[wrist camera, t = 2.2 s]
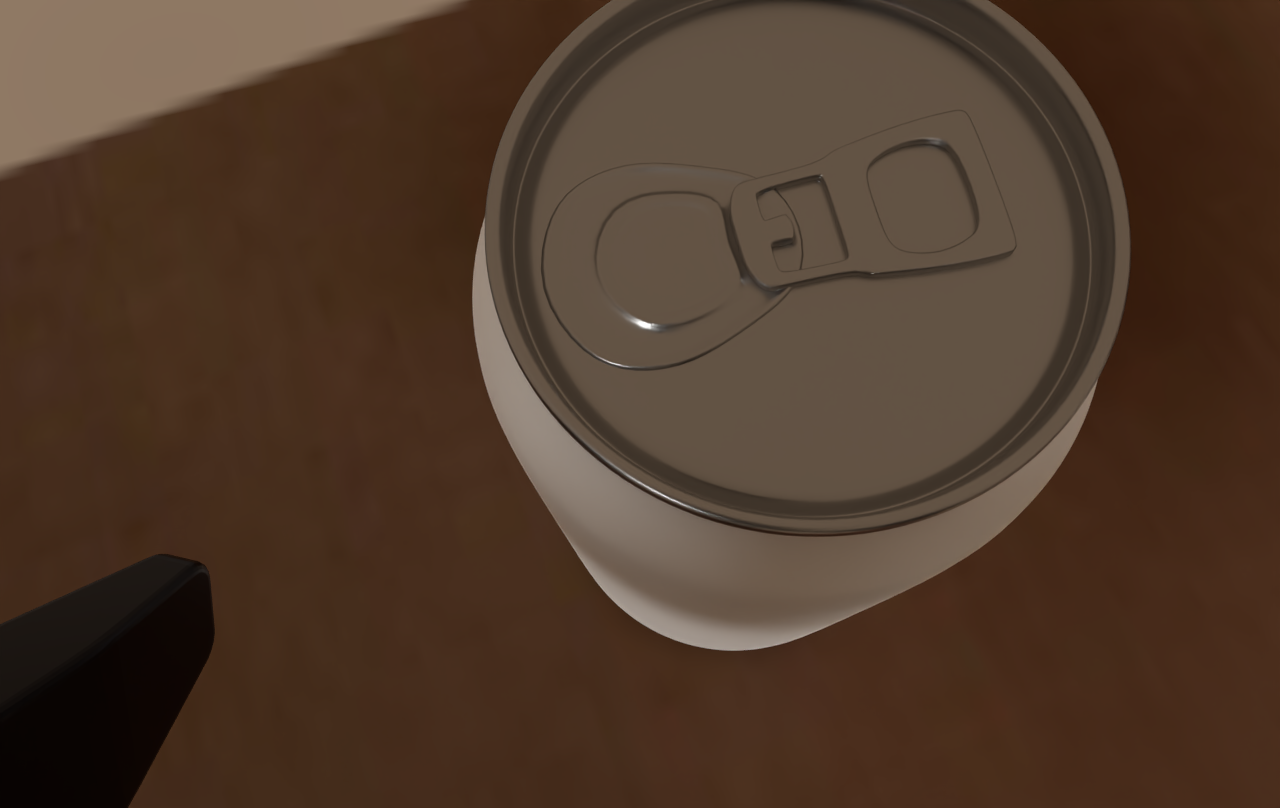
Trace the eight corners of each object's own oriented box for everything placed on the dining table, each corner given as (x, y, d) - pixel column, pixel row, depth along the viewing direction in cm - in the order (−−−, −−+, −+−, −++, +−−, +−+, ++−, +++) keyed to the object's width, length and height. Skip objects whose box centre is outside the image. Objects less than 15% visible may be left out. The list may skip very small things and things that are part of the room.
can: (534, 372, 21) (374, -11, 10) (838, 298, 22) (1033, -161, 10) (607, 690, 20) (518, 681, 8) (937, 606, 20) (1311, 479, 8)
